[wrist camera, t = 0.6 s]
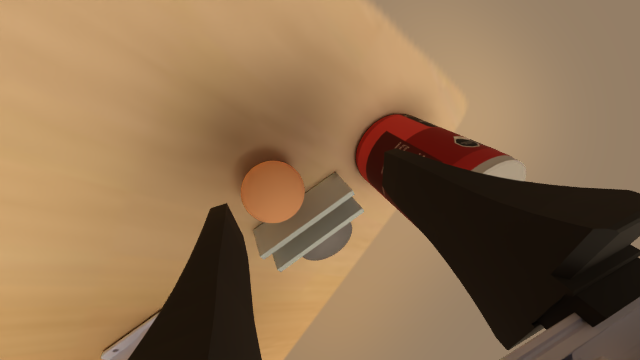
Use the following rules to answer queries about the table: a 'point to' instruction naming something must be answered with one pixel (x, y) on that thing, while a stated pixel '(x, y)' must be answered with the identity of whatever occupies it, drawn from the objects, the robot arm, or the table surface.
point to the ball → (272, 191)
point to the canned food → (428, 150)
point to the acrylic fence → (309, 222)
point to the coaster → (330, 244)
